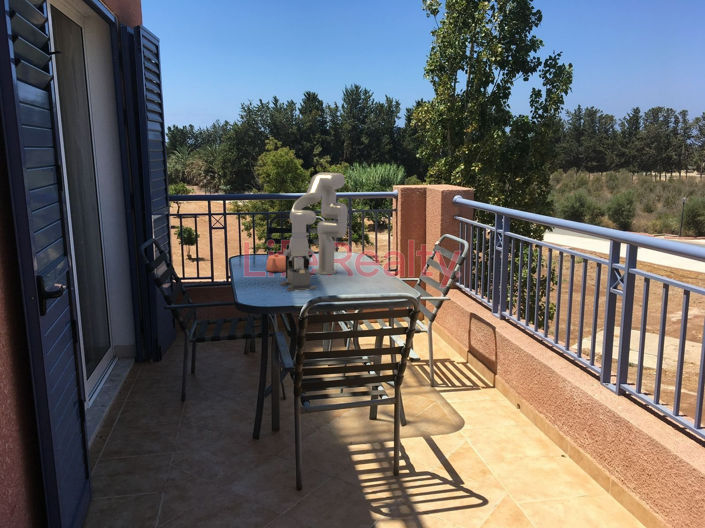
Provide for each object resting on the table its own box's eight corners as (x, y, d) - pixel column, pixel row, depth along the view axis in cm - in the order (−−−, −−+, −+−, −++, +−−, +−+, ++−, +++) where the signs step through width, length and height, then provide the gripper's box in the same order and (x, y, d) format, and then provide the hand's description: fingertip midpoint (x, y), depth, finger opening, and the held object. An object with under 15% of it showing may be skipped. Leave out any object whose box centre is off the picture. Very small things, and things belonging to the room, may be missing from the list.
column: (294, 286, 307) (294, 257, 304) (301, 285, 309) (301, 257, 305) (296, 288, 303) (296, 259, 299) (303, 287, 304) (304, 258, 301)
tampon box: (297, 281, 319) (298, 255, 316) (285, 278, 324) (285, 253, 321) (309, 277, 328) (309, 252, 325) (296, 275, 333) (296, 250, 330)
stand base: (280, 284, 310) (280, 265, 308) (308, 282, 316) (308, 264, 314) (288, 291, 296) (288, 272, 294) (317, 289, 302) (317, 270, 300)
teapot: (288, 268, 351) (288, 251, 349) (282, 274, 333) (282, 257, 331) (270, 267, 352) (270, 251, 350) (263, 273, 334) (263, 256, 332)
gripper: (312, 233, 307) (312, 264, 310) (281, 234, 300) (281, 266, 304) (316, 235, 300) (316, 267, 304) (285, 236, 294) (285, 269, 297)
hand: (298, 266), depth 304 cm, fingers open, 8 cm apart
